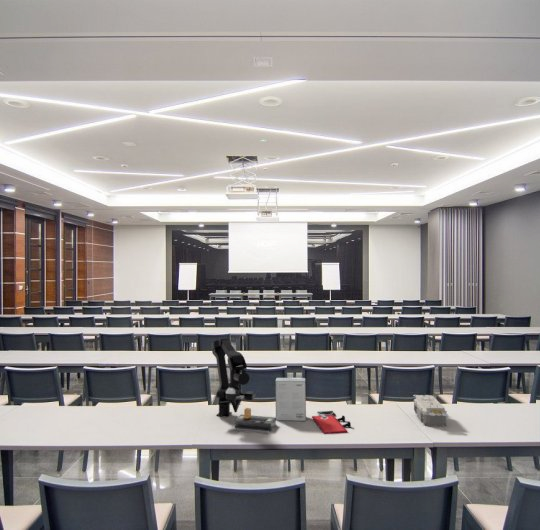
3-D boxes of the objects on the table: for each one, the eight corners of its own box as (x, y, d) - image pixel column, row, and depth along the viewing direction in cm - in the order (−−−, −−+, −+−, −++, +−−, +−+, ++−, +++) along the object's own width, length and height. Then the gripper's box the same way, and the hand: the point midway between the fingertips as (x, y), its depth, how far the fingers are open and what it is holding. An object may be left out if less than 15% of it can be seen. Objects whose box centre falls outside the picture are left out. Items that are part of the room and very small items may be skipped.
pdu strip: (241, 421, 210) (241, 414, 210) (275, 424, 205) (275, 417, 205) (234, 427, 201) (234, 419, 201) (270, 431, 196) (270, 423, 196)
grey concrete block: (431, 410, 226) (431, 392, 226) (452, 433, 198) (452, 412, 197) (409, 409, 227) (409, 391, 226) (426, 432, 198) (427, 411, 198)
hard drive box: (306, 416, 218) (306, 377, 218) (306, 421, 210) (305, 381, 211) (276, 415, 219) (276, 377, 220) (275, 420, 211) (275, 380, 212)
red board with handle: (335, 412, 225) (308, 414, 223) (335, 407, 225) (308, 408, 223) (355, 433, 195) (323, 435, 193) (355, 427, 195) (323, 429, 193)
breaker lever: (246, 416, 206) (246, 407, 206) (250, 416, 205) (250, 408, 205) (244, 418, 203) (244, 409, 203) (248, 418, 202) (249, 410, 202)
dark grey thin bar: (235, 428, 199) (235, 426, 199) (269, 432, 195) (269, 430, 195) (233, 430, 197) (233, 428, 197) (267, 434, 192) (267, 432, 192)
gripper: (211, 382, 201) (211, 415, 201) (248, 385, 196) (248, 419, 196) (220, 377, 212) (220, 408, 211) (255, 380, 207) (255, 411, 206)
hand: (235, 412), depth 206 cm, fingers closed
